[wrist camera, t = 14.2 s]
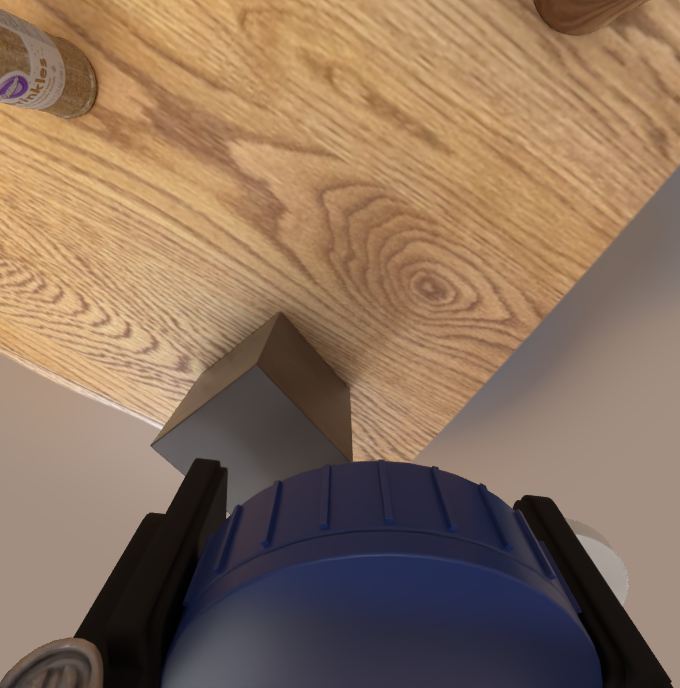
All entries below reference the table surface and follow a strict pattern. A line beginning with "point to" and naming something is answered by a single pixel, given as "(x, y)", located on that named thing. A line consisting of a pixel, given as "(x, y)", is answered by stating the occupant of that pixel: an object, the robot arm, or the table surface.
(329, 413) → the stand
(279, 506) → the lid
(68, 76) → the spice jar
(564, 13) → the jar
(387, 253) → the table surface
